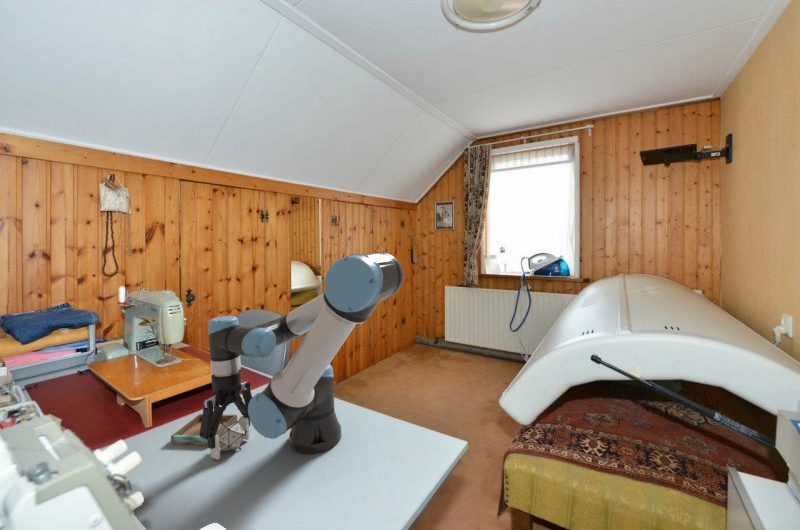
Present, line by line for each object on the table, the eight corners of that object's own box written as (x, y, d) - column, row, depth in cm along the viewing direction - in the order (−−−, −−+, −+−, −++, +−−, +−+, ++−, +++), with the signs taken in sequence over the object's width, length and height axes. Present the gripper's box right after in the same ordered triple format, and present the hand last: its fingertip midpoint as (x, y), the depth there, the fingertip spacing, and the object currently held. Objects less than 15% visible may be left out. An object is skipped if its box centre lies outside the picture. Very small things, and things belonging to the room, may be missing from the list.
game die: (234, 464, 99) (229, 450, 93) (209, 451, 100) (203, 436, 94) (255, 435, 106) (252, 420, 99) (231, 423, 107) (226, 407, 101)
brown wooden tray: (237, 421, 115) (237, 414, 115) (212, 445, 102) (212, 437, 102) (200, 420, 116) (199, 413, 116) (171, 443, 103) (170, 436, 103)
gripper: (248, 357, 110) (252, 425, 112) (179, 384, 90) (185, 467, 92) (266, 360, 106) (269, 430, 108) (198, 389, 87) (204, 475, 89)
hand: (231, 447), depth 100 cm, fingers closed on game die, 9 cm apart
